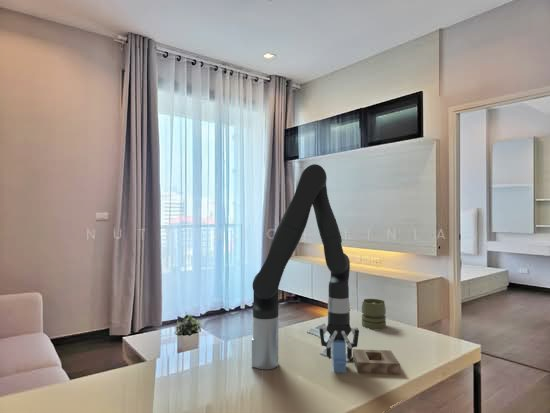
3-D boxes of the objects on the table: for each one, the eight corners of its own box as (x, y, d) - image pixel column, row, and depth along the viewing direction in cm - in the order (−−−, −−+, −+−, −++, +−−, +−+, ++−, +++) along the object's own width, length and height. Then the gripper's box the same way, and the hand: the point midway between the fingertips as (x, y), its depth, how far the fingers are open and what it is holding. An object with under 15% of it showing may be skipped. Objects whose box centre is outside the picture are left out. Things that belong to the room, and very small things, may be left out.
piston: (360, 302, 167) (363, 297, 177) (360, 327, 166) (363, 321, 177) (384, 304, 163) (386, 299, 173) (385, 330, 162) (386, 324, 173)
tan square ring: (357, 372, 117) (357, 362, 117) (352, 358, 129) (352, 349, 129) (400, 374, 116) (400, 363, 116) (391, 360, 128) (391, 350, 128)
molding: (357, 363, 126) (357, 355, 126) (325, 364, 125) (325, 356, 125) (327, 327, 168) (328, 321, 169) (303, 328, 167) (303, 322, 167)
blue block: (334, 374, 116) (334, 343, 117) (332, 363, 125) (332, 335, 126) (346, 374, 116) (346, 344, 116) (343, 363, 125) (343, 335, 125)
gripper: (357, 307, 124) (358, 354, 124) (317, 306, 126) (317, 353, 125) (361, 313, 117) (361, 363, 116) (318, 312, 118) (318, 361, 118)
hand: (339, 358), depth 121 cm, fingers open, 6 cm apart
